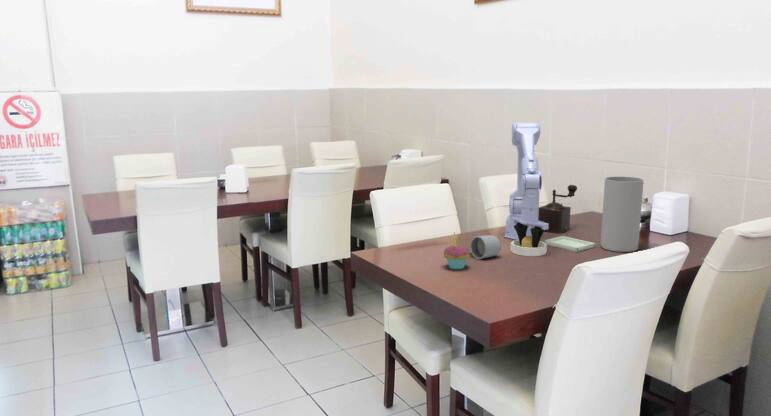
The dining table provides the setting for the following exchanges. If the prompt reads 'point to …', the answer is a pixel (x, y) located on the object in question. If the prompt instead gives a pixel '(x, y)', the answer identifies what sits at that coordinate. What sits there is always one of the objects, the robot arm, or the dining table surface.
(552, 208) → the brown manual coffee grinder
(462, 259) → the cupcake
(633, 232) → the cylinder vase
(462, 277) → the dining table surface
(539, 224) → the robot arm
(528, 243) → the ball
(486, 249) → the ceramic mug
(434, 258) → the dining table surface
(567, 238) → the tray
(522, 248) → the bowl
